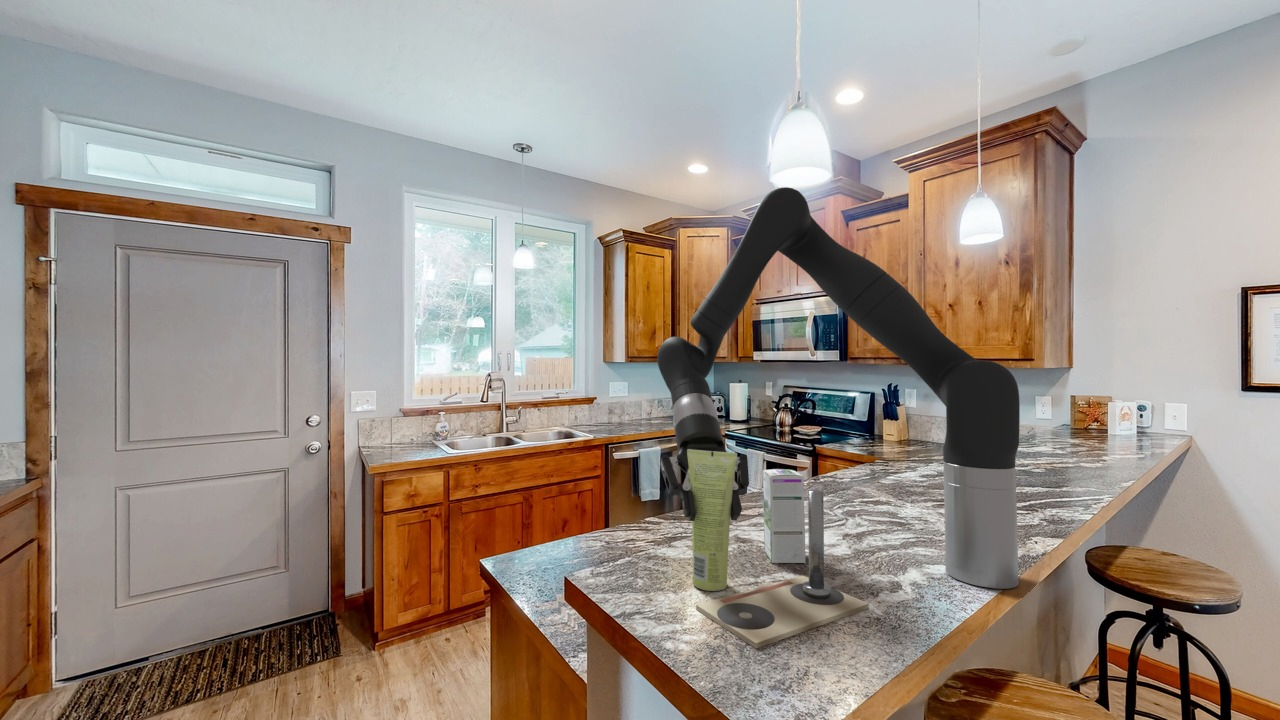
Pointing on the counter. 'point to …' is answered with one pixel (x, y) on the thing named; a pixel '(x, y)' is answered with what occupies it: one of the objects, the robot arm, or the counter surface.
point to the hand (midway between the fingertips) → (714, 517)
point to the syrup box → (784, 516)
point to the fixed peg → (816, 547)
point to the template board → (777, 611)
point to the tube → (711, 515)
